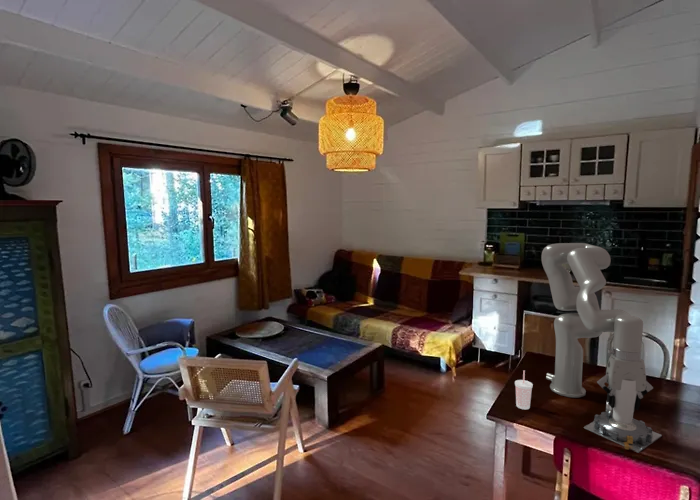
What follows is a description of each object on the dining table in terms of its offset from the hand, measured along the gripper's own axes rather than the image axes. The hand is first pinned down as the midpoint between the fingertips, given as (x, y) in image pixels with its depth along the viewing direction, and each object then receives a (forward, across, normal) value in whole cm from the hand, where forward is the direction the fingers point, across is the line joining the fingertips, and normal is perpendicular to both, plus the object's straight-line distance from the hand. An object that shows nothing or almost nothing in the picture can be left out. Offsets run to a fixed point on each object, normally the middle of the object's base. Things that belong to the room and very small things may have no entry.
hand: (623, 406), depth 128 cm
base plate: (+9, 0, 0) cm, 9 cm away
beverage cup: (+9, -28, +11) cm, 32 cm away
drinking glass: (+5, 0, 0) cm, 5 cm away
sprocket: (+9, 0, 0) cm, 9 cm away
